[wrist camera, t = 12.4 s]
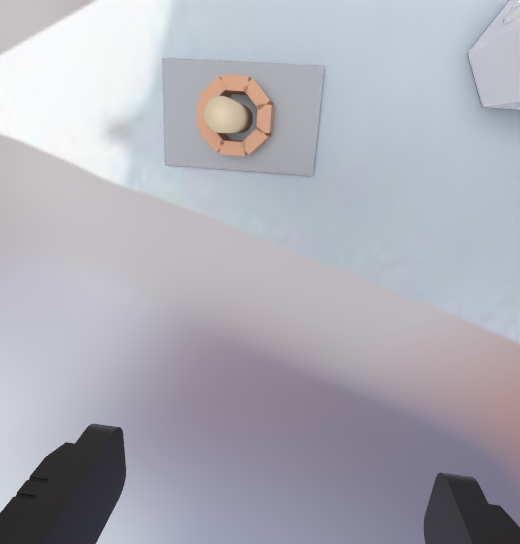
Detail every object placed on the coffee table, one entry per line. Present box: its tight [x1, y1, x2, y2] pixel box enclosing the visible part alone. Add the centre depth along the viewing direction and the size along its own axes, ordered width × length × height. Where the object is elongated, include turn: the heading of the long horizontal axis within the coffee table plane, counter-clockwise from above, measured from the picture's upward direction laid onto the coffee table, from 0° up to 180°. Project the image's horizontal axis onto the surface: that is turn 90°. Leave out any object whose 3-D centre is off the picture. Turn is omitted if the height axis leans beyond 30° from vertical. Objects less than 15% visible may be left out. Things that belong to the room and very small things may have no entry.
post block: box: [162, 58, 325, 176], centre depth 31 cm, size 14×9×9 cm, turn 86°
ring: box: [197, 74, 275, 156], centre depth 32 cm, size 6×6×4 cm
